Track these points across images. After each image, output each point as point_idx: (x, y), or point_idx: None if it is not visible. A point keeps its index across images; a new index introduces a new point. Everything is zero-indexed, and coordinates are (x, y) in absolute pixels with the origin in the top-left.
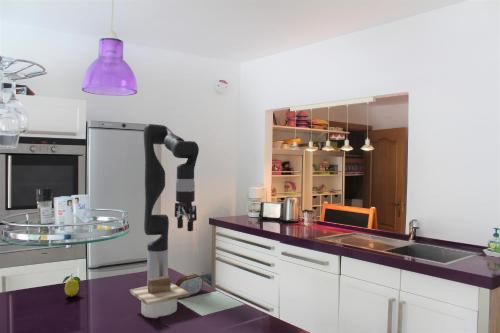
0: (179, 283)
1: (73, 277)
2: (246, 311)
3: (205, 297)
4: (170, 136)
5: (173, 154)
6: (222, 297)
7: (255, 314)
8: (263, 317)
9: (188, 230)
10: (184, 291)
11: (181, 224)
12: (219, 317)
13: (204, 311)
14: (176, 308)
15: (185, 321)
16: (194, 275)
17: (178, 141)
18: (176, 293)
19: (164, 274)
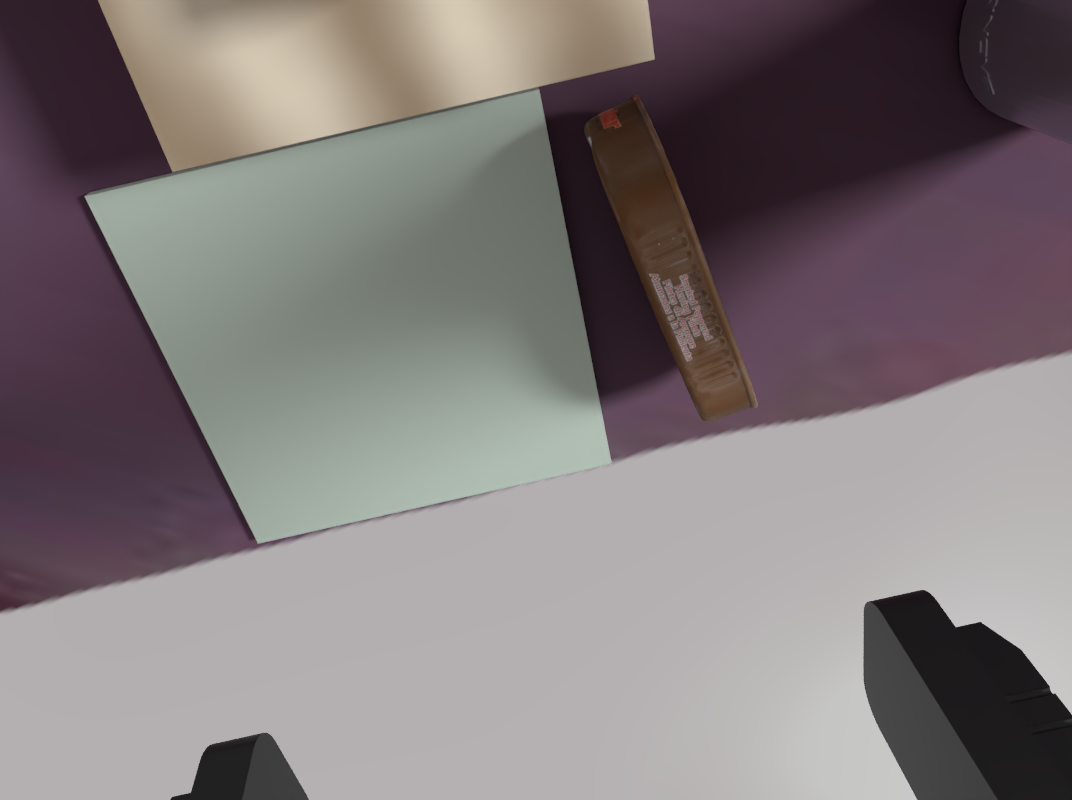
0: (610, 167)
1: None
2: (145, 514)
3: (506, 343)
4: None
5: None
6: (452, 455)
7: (74, 545)
8: (9, 569)
9: (206, 761)
10: (231, 130)
11: (920, 765)
12: (61, 318)
13: (179, 244)
14: None
15: (16, 27)
16: (717, 367)
17: None
18: (179, 20)
19: (1050, 96)
